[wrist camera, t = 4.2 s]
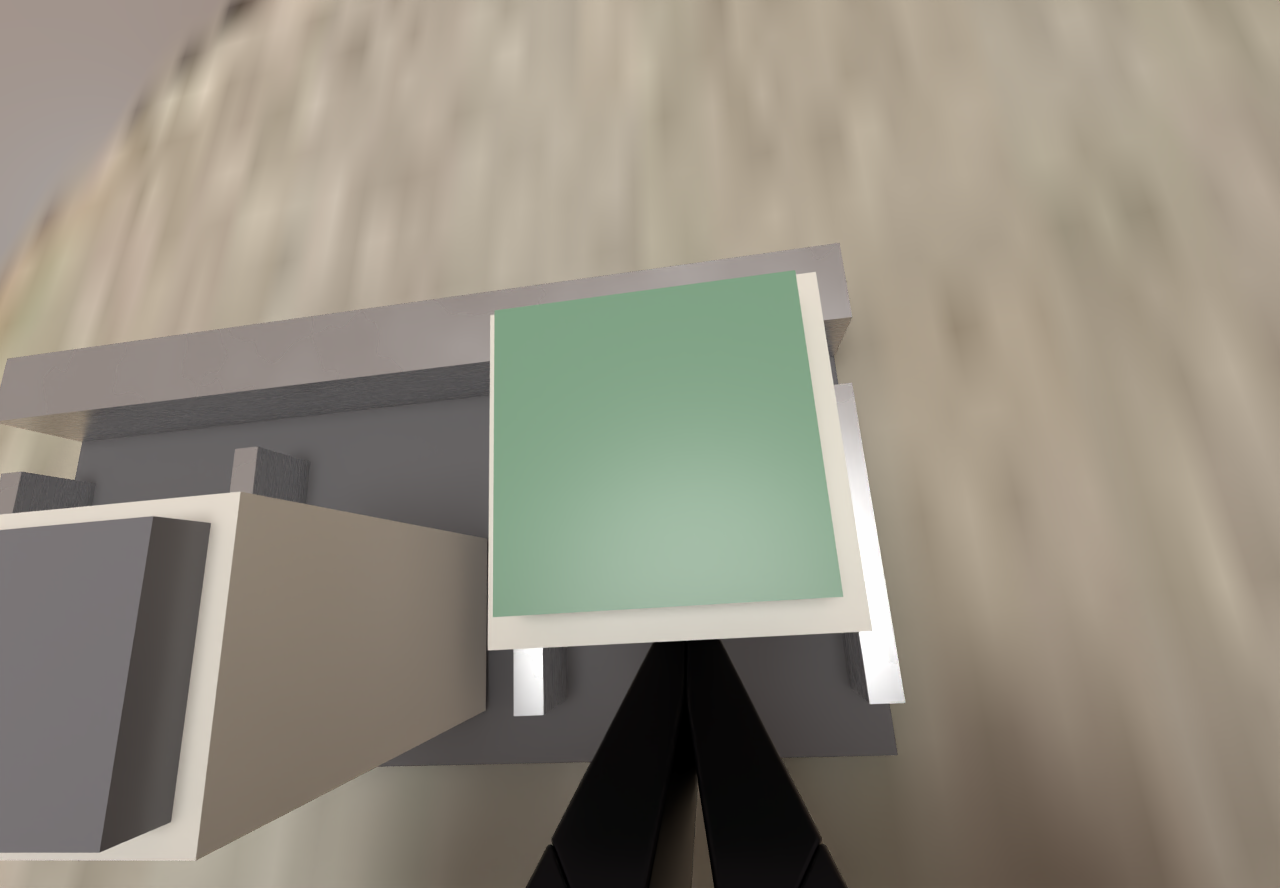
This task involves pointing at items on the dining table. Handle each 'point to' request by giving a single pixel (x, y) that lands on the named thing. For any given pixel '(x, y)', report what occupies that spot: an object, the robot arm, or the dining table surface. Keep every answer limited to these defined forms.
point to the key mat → (459, 502)
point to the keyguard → (386, 377)
